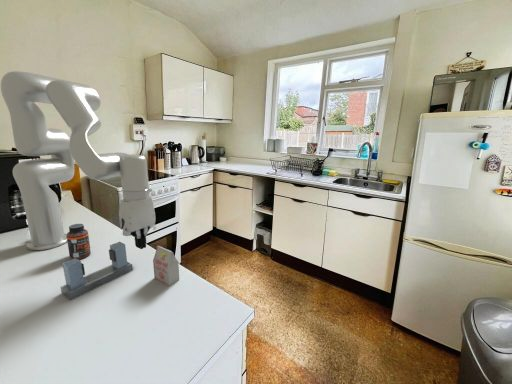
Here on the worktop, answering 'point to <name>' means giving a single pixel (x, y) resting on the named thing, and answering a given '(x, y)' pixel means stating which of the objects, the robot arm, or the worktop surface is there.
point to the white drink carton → (165, 266)
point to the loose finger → (118, 255)
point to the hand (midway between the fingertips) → (141, 247)
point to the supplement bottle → (78, 242)
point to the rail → (88, 277)
